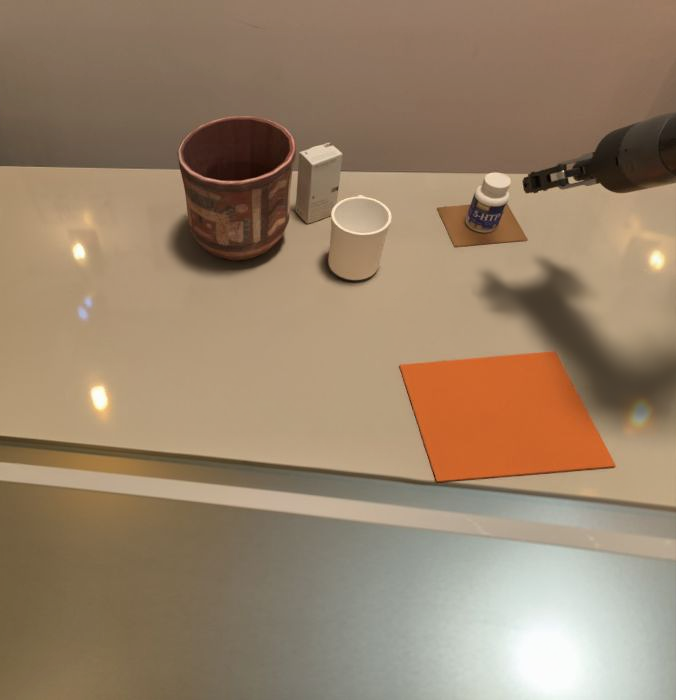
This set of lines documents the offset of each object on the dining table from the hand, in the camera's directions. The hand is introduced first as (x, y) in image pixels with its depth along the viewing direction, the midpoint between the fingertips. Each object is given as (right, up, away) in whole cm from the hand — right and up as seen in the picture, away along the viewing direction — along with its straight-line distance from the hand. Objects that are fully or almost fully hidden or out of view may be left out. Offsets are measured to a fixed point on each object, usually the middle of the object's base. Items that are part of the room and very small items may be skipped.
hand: (554, 179), depth 84 cm
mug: (-24, -9, +16) cm, 30 cm away
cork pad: (-1, -2, +20) cm, 20 cm away
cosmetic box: (-29, +1, +24) cm, 38 cm away
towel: (-9, -32, -3) cm, 33 cm away
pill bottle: (-1, -2, +19) cm, 20 cm away
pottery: (-42, -4, +21) cm, 48 cm away
